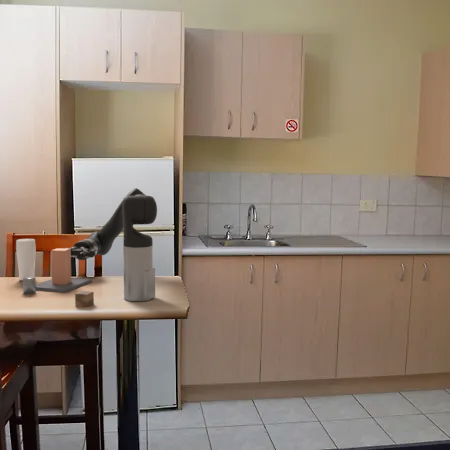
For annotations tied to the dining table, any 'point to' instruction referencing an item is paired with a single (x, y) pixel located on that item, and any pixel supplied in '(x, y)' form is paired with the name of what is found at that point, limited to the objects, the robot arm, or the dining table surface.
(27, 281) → the grey tin
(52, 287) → the charcoal mat
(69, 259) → the terracotta block
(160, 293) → the dining table surface
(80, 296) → the walnut cube
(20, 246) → the drinking glass
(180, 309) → the dining table surface
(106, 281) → the dining table surface
